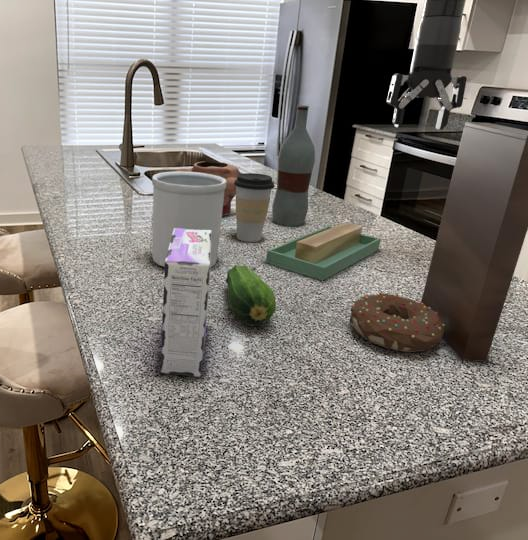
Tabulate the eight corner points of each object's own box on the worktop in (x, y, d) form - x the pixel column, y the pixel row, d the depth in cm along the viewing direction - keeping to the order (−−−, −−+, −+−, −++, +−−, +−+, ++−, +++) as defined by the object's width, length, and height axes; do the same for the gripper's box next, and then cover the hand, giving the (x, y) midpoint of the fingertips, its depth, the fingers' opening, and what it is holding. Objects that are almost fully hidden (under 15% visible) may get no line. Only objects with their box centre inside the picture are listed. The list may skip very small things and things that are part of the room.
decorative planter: (171, 217, 138) (173, 166, 133) (170, 206, 149) (172, 157, 144) (245, 220, 139) (250, 168, 133) (238, 208, 150) (242, 160, 145)
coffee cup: (242, 246, 118) (248, 181, 113) (222, 234, 126) (226, 173, 121) (276, 242, 122) (283, 179, 116) (254, 230, 130) (260, 171, 124)
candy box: (169, 325, 81) (173, 226, 75) (206, 328, 81) (213, 228, 75) (158, 374, 68) (162, 259, 62) (202, 378, 68) (211, 262, 62)
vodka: (304, 218, 142) (320, 105, 131) (307, 228, 133) (324, 108, 122) (270, 216, 143) (283, 103, 132) (270, 225, 135) (284, 106, 124)
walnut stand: (438, 312, 89) (488, 122, 77) (486, 361, 75) (557, 136, 63) (418, 311, 90) (465, 121, 78) (461, 359, 75) (527, 135, 63)
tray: (326, 236, 128) (328, 225, 126) (378, 250, 119) (380, 238, 118) (265, 262, 109) (267, 250, 108) (322, 281, 101) (324, 267, 100)
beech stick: (359, 242, 121) (362, 226, 120) (312, 265, 106) (315, 246, 105) (342, 238, 124) (344, 222, 123) (294, 259, 109) (296, 241, 108)
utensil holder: (171, 243, 118) (174, 167, 112) (230, 256, 112) (238, 176, 105) (136, 262, 106) (137, 178, 100) (200, 278, 100) (206, 189, 93)
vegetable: (248, 283, 77) (233, 241, 95) (223, 320, 79) (213, 273, 98) (289, 304, 78) (266, 259, 96) (263, 341, 80) (246, 290, 99)
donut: (334, 315, 87) (339, 288, 85) (411, 315, 88) (418, 288, 86) (371, 361, 74) (378, 330, 72) (461, 360, 75) (470, 330, 73)
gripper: (406, 41, 98) (389, 128, 104) (483, 43, 97) (461, 131, 103) (392, 42, 105) (378, 124, 111) (464, 45, 104) (445, 127, 110)
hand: (418, 128), depth 107 cm, fingers open, 8 cm apart
